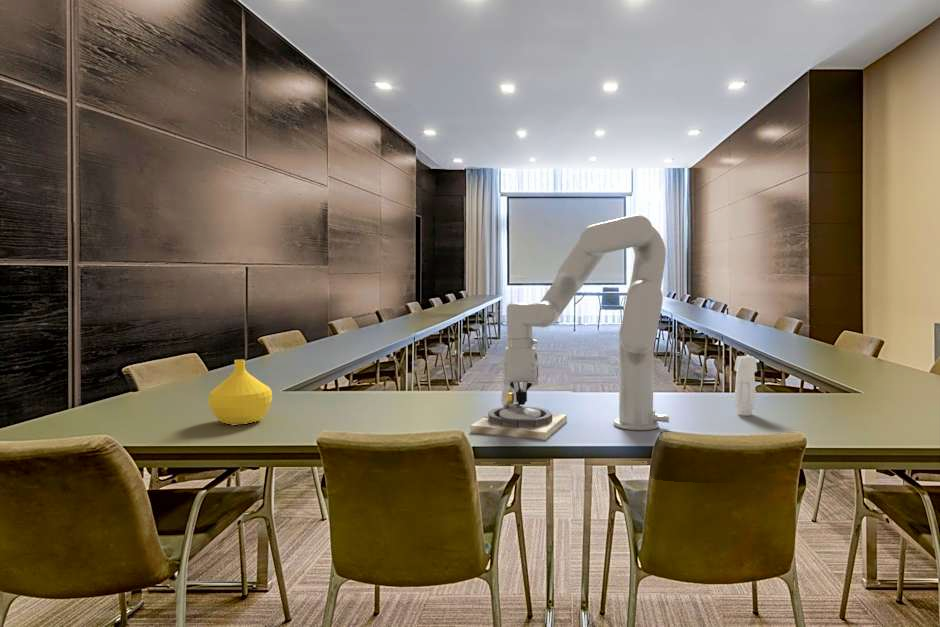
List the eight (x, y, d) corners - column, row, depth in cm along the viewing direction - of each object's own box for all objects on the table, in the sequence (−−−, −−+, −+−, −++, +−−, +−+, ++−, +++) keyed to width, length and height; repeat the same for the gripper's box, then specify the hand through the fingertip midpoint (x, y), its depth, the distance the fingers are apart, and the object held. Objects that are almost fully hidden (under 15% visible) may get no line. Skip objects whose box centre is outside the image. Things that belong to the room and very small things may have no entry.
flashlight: (733, 411, 199) (732, 415, 193) (734, 354, 198) (733, 357, 192) (756, 412, 197) (756, 417, 190) (757, 355, 195) (757, 358, 189)
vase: (202, 430, 183) (199, 365, 182) (217, 416, 201) (215, 357, 200) (268, 427, 186) (265, 363, 184) (277, 413, 204) (275, 355, 202)
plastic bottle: (520, 410, 204) (519, 349, 203) (499, 409, 206) (498, 348, 204) (522, 405, 211) (522, 346, 209) (502, 405, 212) (501, 346, 211)
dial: (547, 422, 179) (547, 401, 178) (507, 425, 175) (507, 404, 175) (527, 410, 194) (527, 391, 193) (490, 413, 190) (489, 393, 190)
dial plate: (566, 421, 188) (566, 408, 188) (545, 439, 168) (545, 425, 168) (497, 415, 197) (497, 402, 197) (469, 432, 177) (469, 418, 177)
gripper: (547, 342, 190) (548, 402, 191) (499, 342, 195) (501, 400, 196) (542, 345, 183) (543, 407, 184) (492, 345, 187) (494, 405, 189)
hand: (521, 404), depth 190 cm, fingers closed
